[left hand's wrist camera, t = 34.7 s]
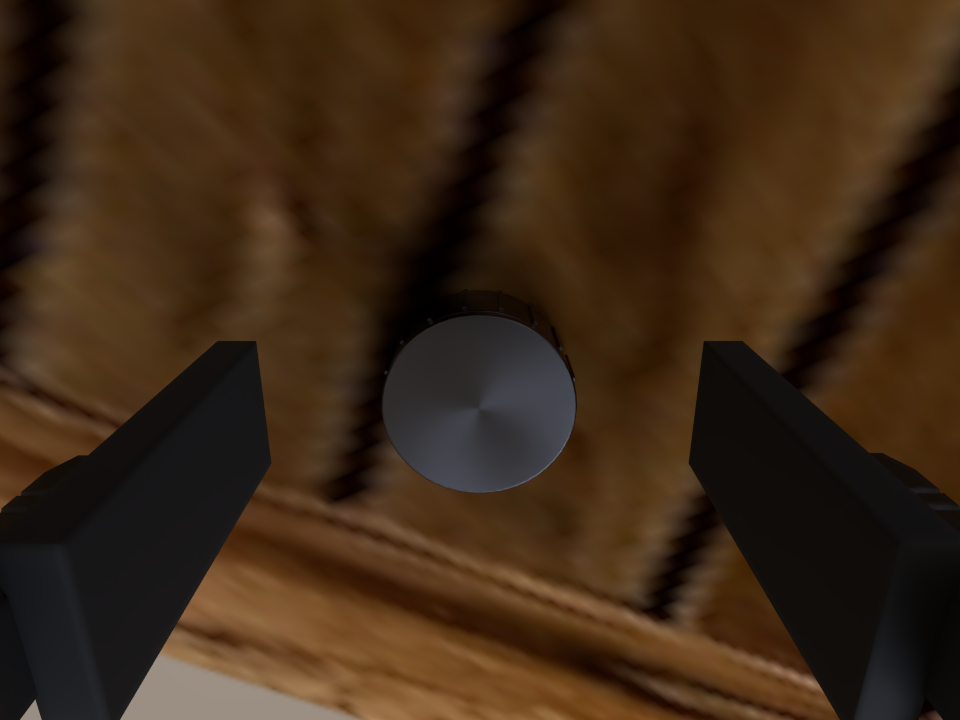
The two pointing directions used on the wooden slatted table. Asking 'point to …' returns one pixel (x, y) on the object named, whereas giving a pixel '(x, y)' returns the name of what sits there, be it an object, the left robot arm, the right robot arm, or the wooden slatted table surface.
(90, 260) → the wooden slatted table surface
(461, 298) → the cap
